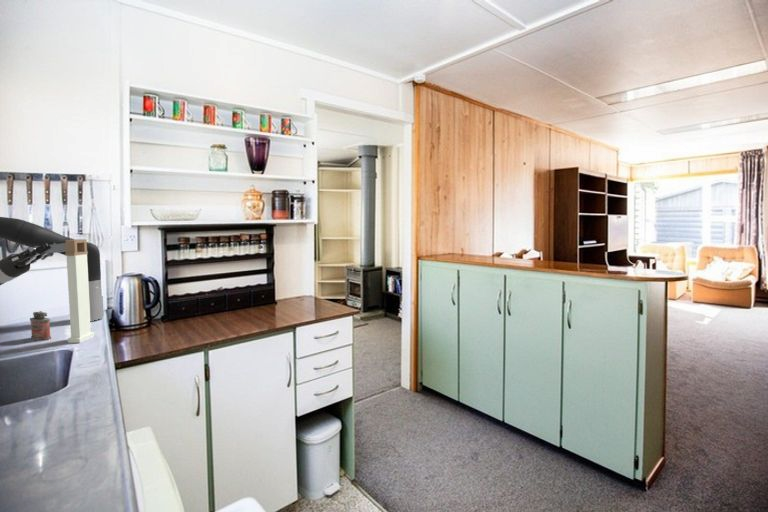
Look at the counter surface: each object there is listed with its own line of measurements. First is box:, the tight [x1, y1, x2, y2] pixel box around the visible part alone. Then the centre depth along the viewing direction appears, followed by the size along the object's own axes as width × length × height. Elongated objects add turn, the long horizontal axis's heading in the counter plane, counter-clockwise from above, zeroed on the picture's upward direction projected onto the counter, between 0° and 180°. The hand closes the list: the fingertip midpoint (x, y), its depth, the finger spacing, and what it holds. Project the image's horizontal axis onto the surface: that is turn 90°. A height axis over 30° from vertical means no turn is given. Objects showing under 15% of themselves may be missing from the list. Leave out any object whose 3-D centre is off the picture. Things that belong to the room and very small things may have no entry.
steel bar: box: [34, 243, 66, 254], centre depth 144 cm, size 3×11×3 cm, turn 94°
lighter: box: [29, 310, 52, 342], centre depth 147 cm, size 8×3×10 cm, turn 71°
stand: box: [64, 238, 95, 344], centre depth 146 cm, size 8×4×36 cm, turn 3°
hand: (51, 245), depth 144 cm, fingers closed on steel bar, 3 cm apart
